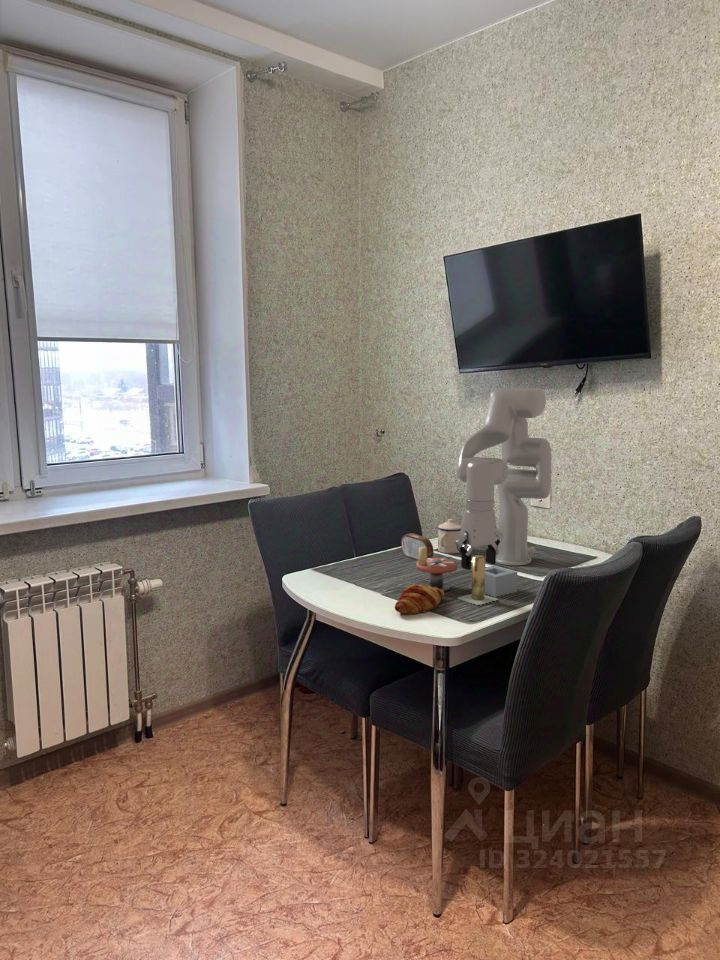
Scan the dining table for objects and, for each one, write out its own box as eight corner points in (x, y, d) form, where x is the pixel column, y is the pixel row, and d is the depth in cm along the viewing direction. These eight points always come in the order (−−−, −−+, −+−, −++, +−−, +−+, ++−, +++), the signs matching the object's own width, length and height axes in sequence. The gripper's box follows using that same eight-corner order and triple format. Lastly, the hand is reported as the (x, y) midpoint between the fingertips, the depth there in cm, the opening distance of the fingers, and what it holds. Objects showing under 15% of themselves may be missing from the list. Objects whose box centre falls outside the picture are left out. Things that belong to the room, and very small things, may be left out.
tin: (434, 563, 240) (434, 538, 238) (427, 564, 238) (427, 539, 237) (406, 554, 252) (406, 530, 251) (399, 555, 250) (399, 532, 249)
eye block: (493, 584, 214) (494, 565, 213) (516, 591, 207) (517, 571, 206) (472, 590, 209) (473, 570, 208) (495, 597, 201) (495, 577, 201)
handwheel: (416, 572, 204) (416, 550, 203) (416, 562, 216) (416, 541, 215) (458, 573, 203) (458, 551, 202) (456, 563, 215) (456, 542, 214)
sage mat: (477, 593, 205) (477, 592, 205) (498, 600, 199) (498, 599, 198) (457, 598, 200) (457, 597, 200) (478, 606, 194) (478, 604, 194)
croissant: (433, 608, 203) (423, 581, 205) (460, 598, 197) (449, 571, 199) (388, 626, 187) (377, 597, 189) (416, 616, 181) (405, 586, 183)
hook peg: (477, 595, 202) (478, 554, 200) (487, 598, 199) (488, 557, 197) (468, 597, 200) (469, 556, 198) (478, 601, 197) (479, 559, 195)
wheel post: (437, 583, 216) (437, 563, 215) (455, 589, 209) (456, 569, 209) (417, 587, 211) (417, 568, 210) (435, 594, 205) (435, 574, 204)
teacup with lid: (444, 546, 262) (444, 515, 261) (466, 549, 257) (467, 518, 256) (429, 553, 252) (429, 521, 251) (452, 556, 247) (453, 524, 246)
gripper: (491, 500, 204) (490, 558, 206) (447, 507, 194) (446, 568, 196) (511, 504, 198) (509, 563, 200) (467, 511, 188) (465, 574, 190)
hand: (478, 565), depth 198 cm, fingers open, 9 cm apart
